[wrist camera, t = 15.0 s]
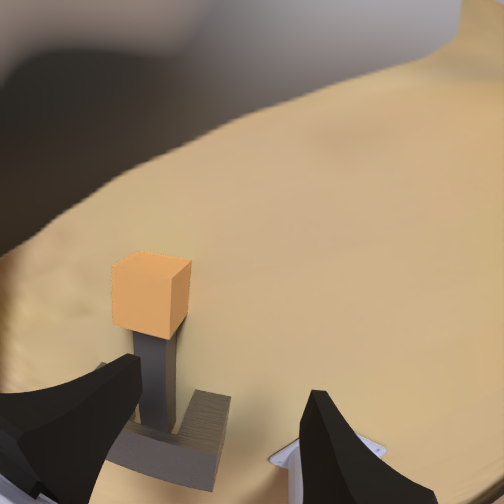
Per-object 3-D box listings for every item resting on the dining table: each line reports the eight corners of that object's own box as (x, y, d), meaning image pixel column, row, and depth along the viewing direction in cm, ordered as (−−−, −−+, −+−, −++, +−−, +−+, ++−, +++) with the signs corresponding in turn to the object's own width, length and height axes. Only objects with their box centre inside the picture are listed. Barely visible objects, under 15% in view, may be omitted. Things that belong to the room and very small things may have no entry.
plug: (183, 423, 24) (171, 452, 20) (144, 411, 24) (128, 439, 20) (191, 260, 20) (171, 278, 16) (139, 250, 20) (111, 265, 16)
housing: (224, 439, 23) (212, 492, 17) (109, 407, 24) (80, 448, 18) (231, 396, 22) (217, 455, 16) (101, 362, 23) (64, 403, 16)
